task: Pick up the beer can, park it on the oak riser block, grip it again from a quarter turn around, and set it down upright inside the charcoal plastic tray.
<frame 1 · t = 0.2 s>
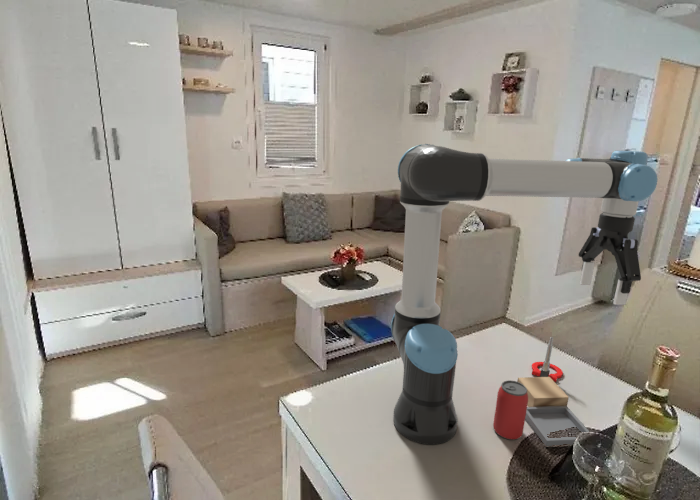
hand: (601, 293, 109), 28 cm above the table, tool pointing down, fingers open, 13 cm apart
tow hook: (546, 372, 123), on the table
beer can: (507, 431, 98), on the table
charcoal tray: (555, 429, 99), on the table
oak riser: (540, 400, 110), on the table
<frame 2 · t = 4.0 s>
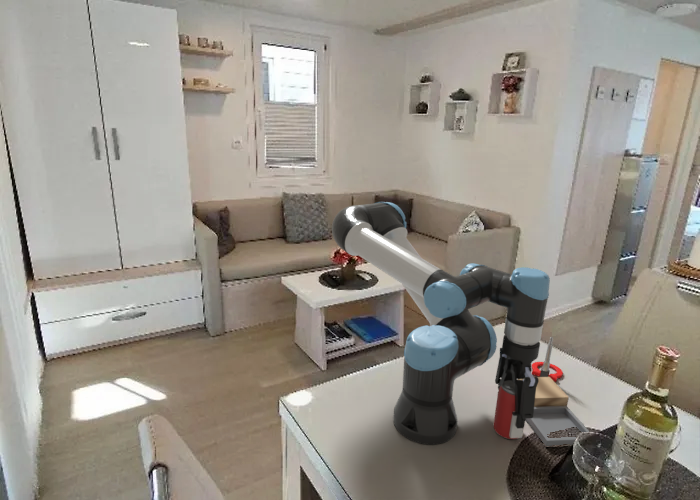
hand: (508, 425, 98), 1 cm above the table, tool pointing down, fingers closed on beer can, 6 cm apart
beer can: (507, 431, 98), on the table, touching gripper
everything else where it was.
when the fingers open (6 cm above the table, at t = 8.9 s): beer can stays where it is, resting on oak riser.
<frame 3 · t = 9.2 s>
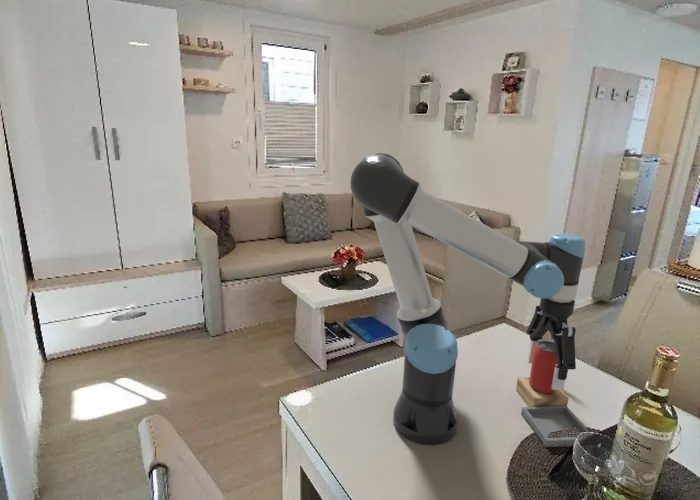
hand: (544, 375, 108), 8 cm above the table, tool pointing down, fingers open, 11 cm apart
beer can: (542, 387, 109), point 4 cm above the table, touching oak riser
everything else where it was.
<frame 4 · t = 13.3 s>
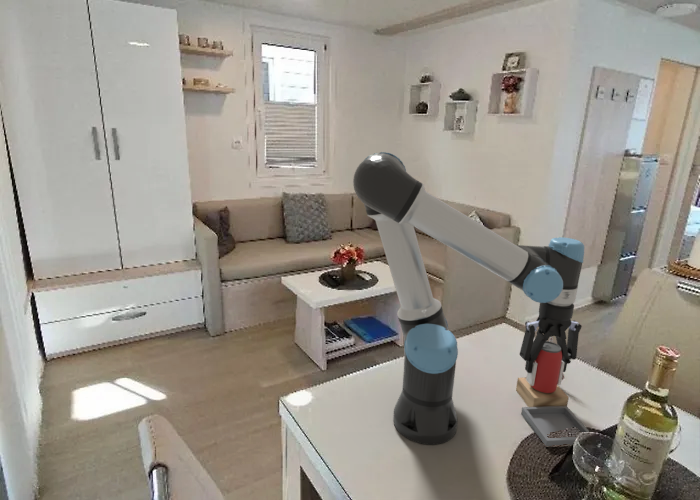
hand: (543, 382, 108), 5 cm above the table, tool pointing down, fingers closed on beer can, 6 cm apart
beer can: (542, 387, 109), point 4 cm above the table, touching gripper, oak riser
everything else where it was.
when the fingers open (3 cm above the table, at t = 18.8 s): beer can drops 1 cm, resting on charcoal tray.
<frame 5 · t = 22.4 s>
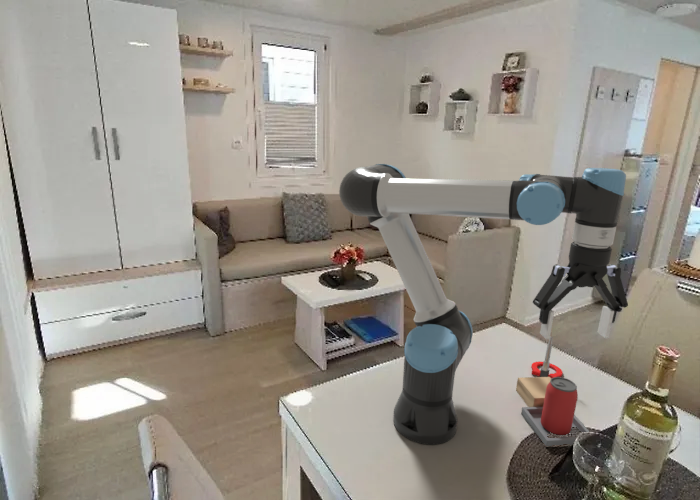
hand: (573, 336, 92), 25 cm above the table, tool pointing down, fingers open, 13 cm apart
beer can: (555, 427, 99), resting on charcoal tray
everything else where it was.
at the end: beer can 0.2 cm off-centre on the charcoal tray, point 0.3 cm above the charcoal tray's base; beer can tilted 0°; the gripper is holding nothing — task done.
